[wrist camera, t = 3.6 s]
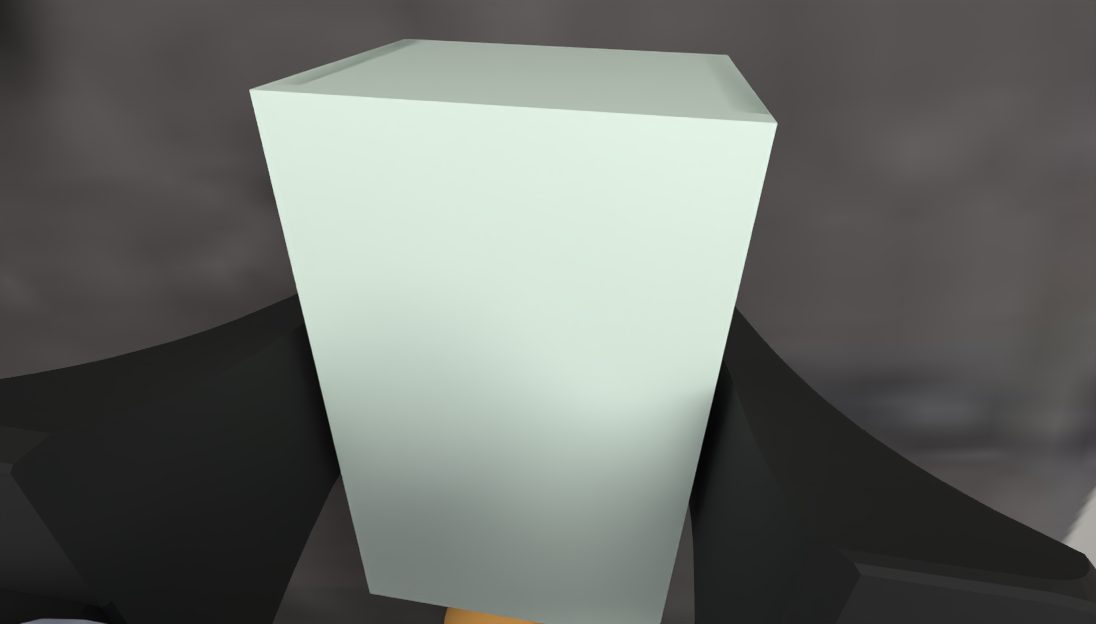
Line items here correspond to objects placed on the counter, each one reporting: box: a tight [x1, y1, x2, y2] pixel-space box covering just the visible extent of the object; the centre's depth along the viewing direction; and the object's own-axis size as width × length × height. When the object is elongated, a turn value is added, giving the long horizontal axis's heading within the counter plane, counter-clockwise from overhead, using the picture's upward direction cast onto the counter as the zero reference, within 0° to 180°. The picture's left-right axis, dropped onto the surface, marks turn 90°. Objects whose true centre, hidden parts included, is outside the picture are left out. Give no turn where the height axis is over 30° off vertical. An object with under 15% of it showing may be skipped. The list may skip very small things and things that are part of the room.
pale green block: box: [250, 39, 777, 624], centre depth 11 cm, size 6×10×5 cm, turn 179°
